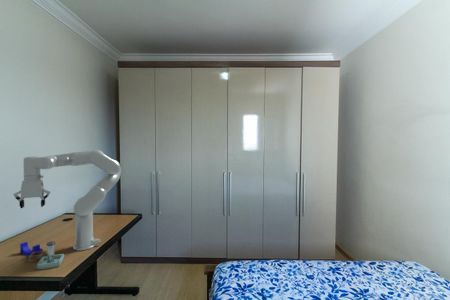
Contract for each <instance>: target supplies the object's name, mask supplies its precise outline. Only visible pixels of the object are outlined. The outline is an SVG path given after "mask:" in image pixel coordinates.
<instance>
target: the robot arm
mask: <svg viewBox="0 0 450 300" xmlns="http://www.w3.org/2000/svg"><path fill="white" fill-rule="evenodd" d="M85 165H94V166H95V167H97V168H99V169H100V170H102V171H104V172H105V173H106V174H105V175H104V176H103V177H102V178H101V179H100V180H99V181H98V182H97V183H96V184H95V185H93V186H92V187H91V188H90V190H89V191H88V192H87V193H86V194H85V195H84V196H81V197H80V198H78V199H77V200H76V202H75V204H74V206H73V213H74V214H75V243H74V244H73V246H72V249H73V250H74V251H78V252H79V251H86V250H91V249H92V248H94V247H95V246H96V244H97V243H101V242H102V241H101V239H100V238H95V236H94V209H95V208H96V207H98V206H99V205H100V204H101V203H102V202H103V201H104V199H105V198H106V195H107V193H108V192H109V191H110V190H111V189H112V188H113V187H114V186H115V185H117V183H118V182H119V180H120V178H121V174H122V168H121V165H120V162H119V161H118V160H116V159H112V158H111V157H110V156H107V154H104V152H103V151H102V150H99V149H94V150H85V151H84V150H82V151H75V152H68V153H61V154H53V155H47V156H41V157H40V156H25V157H23V180H22V181H21V186H20V190H19V191H17V192H14V193H13V197H14V198H15V200H17V201H18V202H19V207H20V209H23V208H25V199H26V198H27V199H29V198H30V199H31V198H40V199H41V200H40V208H41V207H42V208H43V207H44V206H45V205H46V199H47V198H48V197H49V195H50V194H51V191H50V190H47V189H45V188H44V187H45V186H44V181H43V179H42V178H44V175H41V170H50V169H53V168H57V167H65V166H67V167H68V166H71V167H78V166H85ZM45 193H46V194H45ZM19 195H20V196H19Z"/></svg>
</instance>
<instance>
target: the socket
mask: <svg viewBox="0 0 450 300" xmlns="http://www.w3.org/2000/svg"><path fill="white" fill-rule="evenodd" d="M43 256H46V250H43V251H37V252H32V253H31V255H30V256H28V258H27V260H28V261H27V262H28V263H31V262H32V263H33V262H39V261H40V260H41V259H42V257H43Z"/></svg>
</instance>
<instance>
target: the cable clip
mask: <svg viewBox="0 0 450 300" xmlns="http://www.w3.org/2000/svg"><path fill="white" fill-rule="evenodd" d="M19 247H20V248H19V250H20V255H25V256H28V257H29V256H30V255H31V253H32V252H37V251H44V249H43V248H41V245H40V244H35V245H33V246H32V248H30V246H29V244H28V242H27V241H25V242H23V243H20V245H19Z"/></svg>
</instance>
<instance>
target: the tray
mask: <svg viewBox="0 0 450 300" xmlns="http://www.w3.org/2000/svg"><path fill="white" fill-rule="evenodd" d="M64 260H65V253H60V254H54V262H52V263H47V255H45V256H43V257H42V259H41V260H40V261H38V262H37V264H36V267H35V268H36V269H35V270H36V271H38V270H39V271H40V270H45V269H46V270H47V269H53V268H58V267H60V266H61V265H62V263H63V261H64Z"/></svg>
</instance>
